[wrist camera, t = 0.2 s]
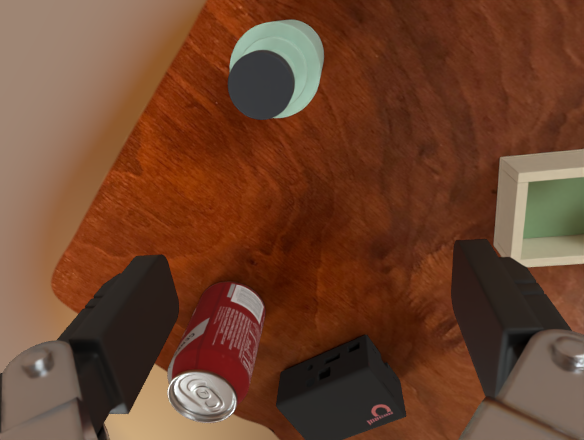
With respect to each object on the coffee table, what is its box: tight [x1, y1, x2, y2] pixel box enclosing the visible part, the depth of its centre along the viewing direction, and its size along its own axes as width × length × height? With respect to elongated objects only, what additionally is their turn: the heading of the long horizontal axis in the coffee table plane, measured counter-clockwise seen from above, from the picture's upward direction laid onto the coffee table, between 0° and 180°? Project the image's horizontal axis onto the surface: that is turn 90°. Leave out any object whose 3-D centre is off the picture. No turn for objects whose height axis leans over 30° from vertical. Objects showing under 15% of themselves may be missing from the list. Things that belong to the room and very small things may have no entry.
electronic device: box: [276, 335, 406, 440], centre depth 45 cm, size 7×11×5 cm
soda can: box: [168, 281, 265, 423], centre depth 39 cm, size 7×7×12 cm
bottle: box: [228, 20, 324, 120], centre depth 27 cm, size 5×5×15 cm
